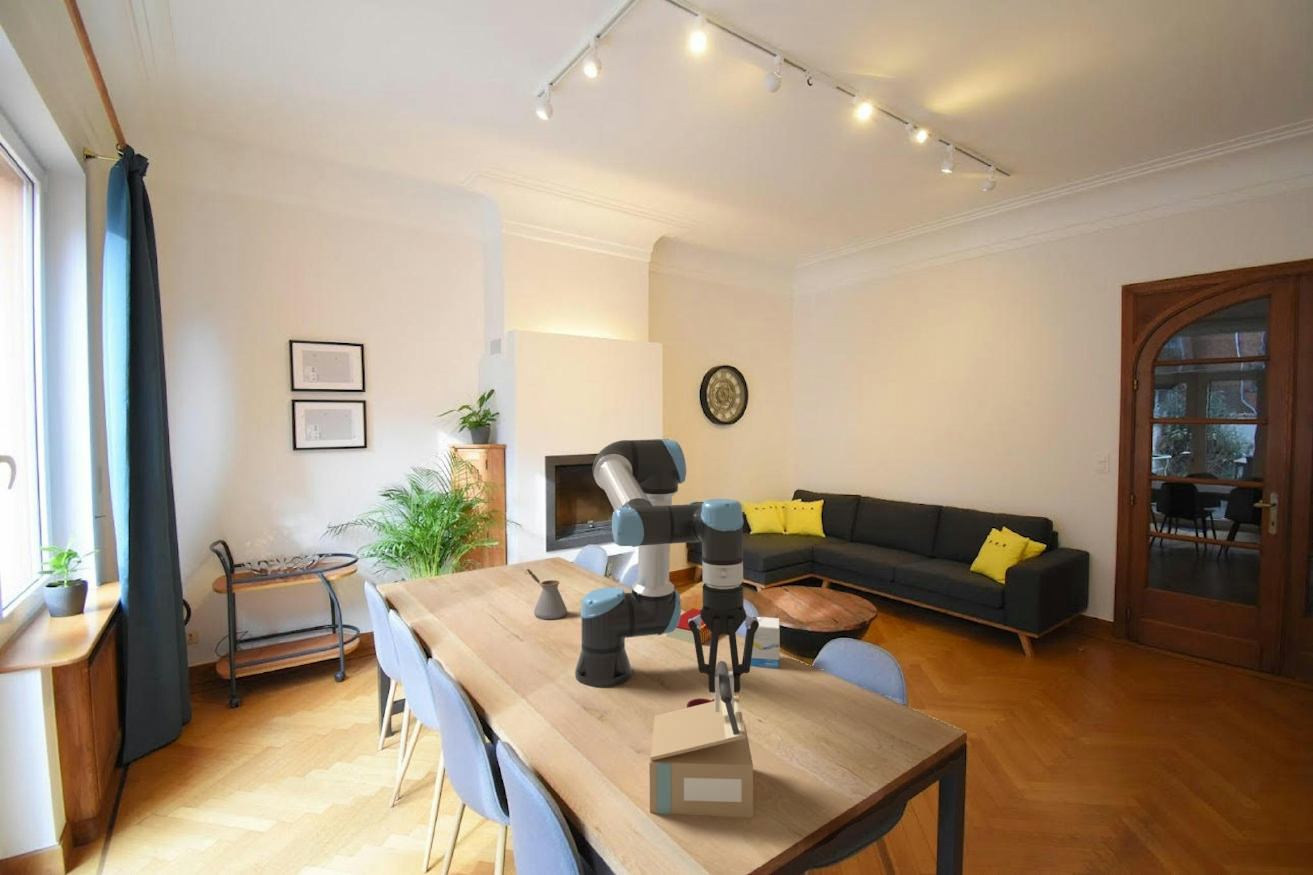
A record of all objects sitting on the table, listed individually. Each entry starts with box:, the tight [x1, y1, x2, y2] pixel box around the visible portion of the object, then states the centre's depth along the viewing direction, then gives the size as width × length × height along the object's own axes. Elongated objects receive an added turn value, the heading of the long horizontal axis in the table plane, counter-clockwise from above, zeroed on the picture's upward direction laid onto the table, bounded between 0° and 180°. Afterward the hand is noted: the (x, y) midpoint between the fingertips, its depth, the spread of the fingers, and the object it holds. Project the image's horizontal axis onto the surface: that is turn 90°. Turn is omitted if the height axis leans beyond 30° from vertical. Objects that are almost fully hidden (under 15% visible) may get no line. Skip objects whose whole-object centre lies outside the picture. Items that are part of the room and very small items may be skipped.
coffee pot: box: [524, 568, 568, 621], centre depth 209 cm, size 21×12×15 cm, turn 43°
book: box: [666, 607, 711, 645], centre depth 191 cm, size 18×13×5 cm
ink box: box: [750, 616, 781, 669], centre depth 168 cm, size 9×8×12 cm
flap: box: [649, 660, 746, 761], centre depth 109 cm, size 17×14×8 cm
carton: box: [649, 720, 754, 819], centre depth 109 cm, size 18×15×10 cm
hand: (724, 708), depth 109 cm, fingers closed on flap, 2 cm apart
